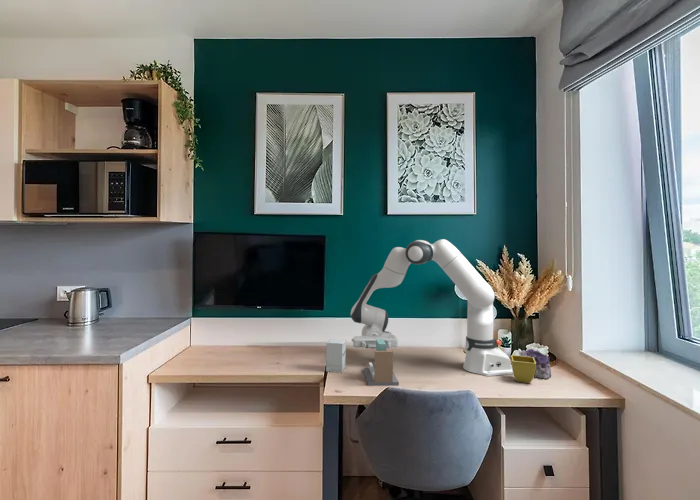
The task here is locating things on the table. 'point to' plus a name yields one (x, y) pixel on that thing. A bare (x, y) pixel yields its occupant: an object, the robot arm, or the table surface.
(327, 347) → the supplement box
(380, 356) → the track base
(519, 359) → the flower pot
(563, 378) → the table surface
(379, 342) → the teal rectangular block
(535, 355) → the geode
